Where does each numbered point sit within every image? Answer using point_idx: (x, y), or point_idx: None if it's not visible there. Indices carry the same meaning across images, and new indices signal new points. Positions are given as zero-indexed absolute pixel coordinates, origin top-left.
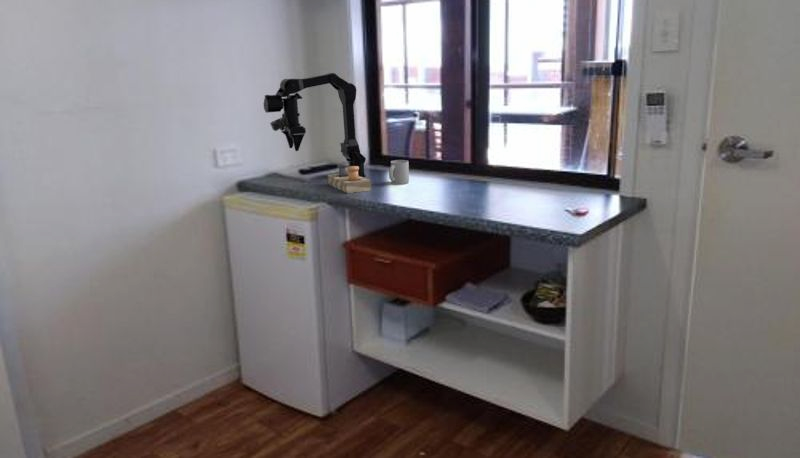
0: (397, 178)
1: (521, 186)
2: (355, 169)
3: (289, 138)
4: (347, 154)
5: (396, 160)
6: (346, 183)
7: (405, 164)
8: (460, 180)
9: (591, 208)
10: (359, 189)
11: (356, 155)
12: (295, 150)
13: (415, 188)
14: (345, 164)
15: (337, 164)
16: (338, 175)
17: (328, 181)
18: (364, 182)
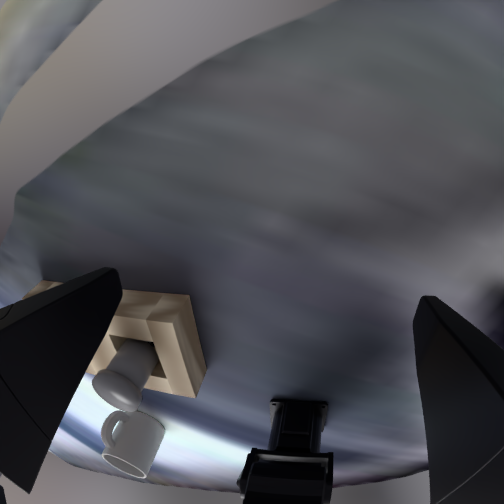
0: (119, 422)
1: (88, 458)
2: None
3: (471, 419)
4: (260, 473)
5: (143, 473)
6: (23, 297)
7: (108, 457)
8: None
9: None
10: None
11: (239, 477)
12: (104, 267)
13: (84, 403)
14: (95, 389)
15: (111, 378)
16: (157, 350)
17: (177, 303)
18: None
